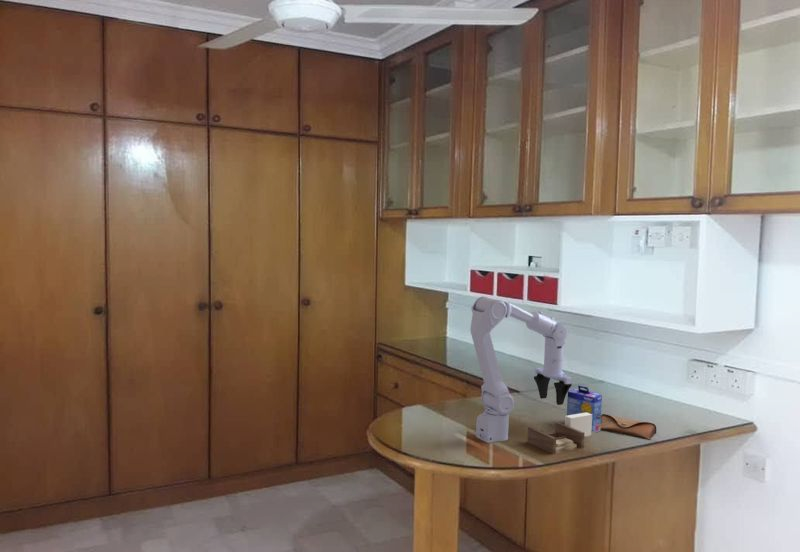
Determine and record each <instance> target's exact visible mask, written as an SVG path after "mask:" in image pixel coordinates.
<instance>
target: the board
mask: <svg viewBox="0 0 800 552" xmlns="http://www.w3.org/2000/svg"><path fill="white" fill-rule="evenodd" d="M564 425H567V426H569V427H572V428H574V429H576V430H579V431H581V432H584V438H585V437H589V436H592V431H591V430H592V414H589V413H587V412H586V413H580V414H574V415H568V416H567V415H565V416H564Z"/></svg>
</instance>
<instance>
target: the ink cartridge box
mask: <svg viewBox="0 0 800 552" xmlns="http://www.w3.org/2000/svg"><path fill="white" fill-rule="evenodd" d="M602 399H603V395H602V394H601V393H597V392H592V391H590V389H589V387H588V386H583V385H579V384H577V388H573V389H569V390H568V392H567V399H566V400H567V401H566V402H567V403H566V416H568V415H574V414H580V413H586V412H587V413H589V414H592V430H591V432H593V433H598V432H600V431H602V430H601V415H602V402H603V401H602Z"/></svg>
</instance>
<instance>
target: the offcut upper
mask: <svg viewBox="0 0 800 552" xmlns="http://www.w3.org/2000/svg"><path fill="white" fill-rule="evenodd" d="M568 445H573V441H572V440H569V439H567V438H563V439H558V440H556V447H563V446H568Z"/></svg>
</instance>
